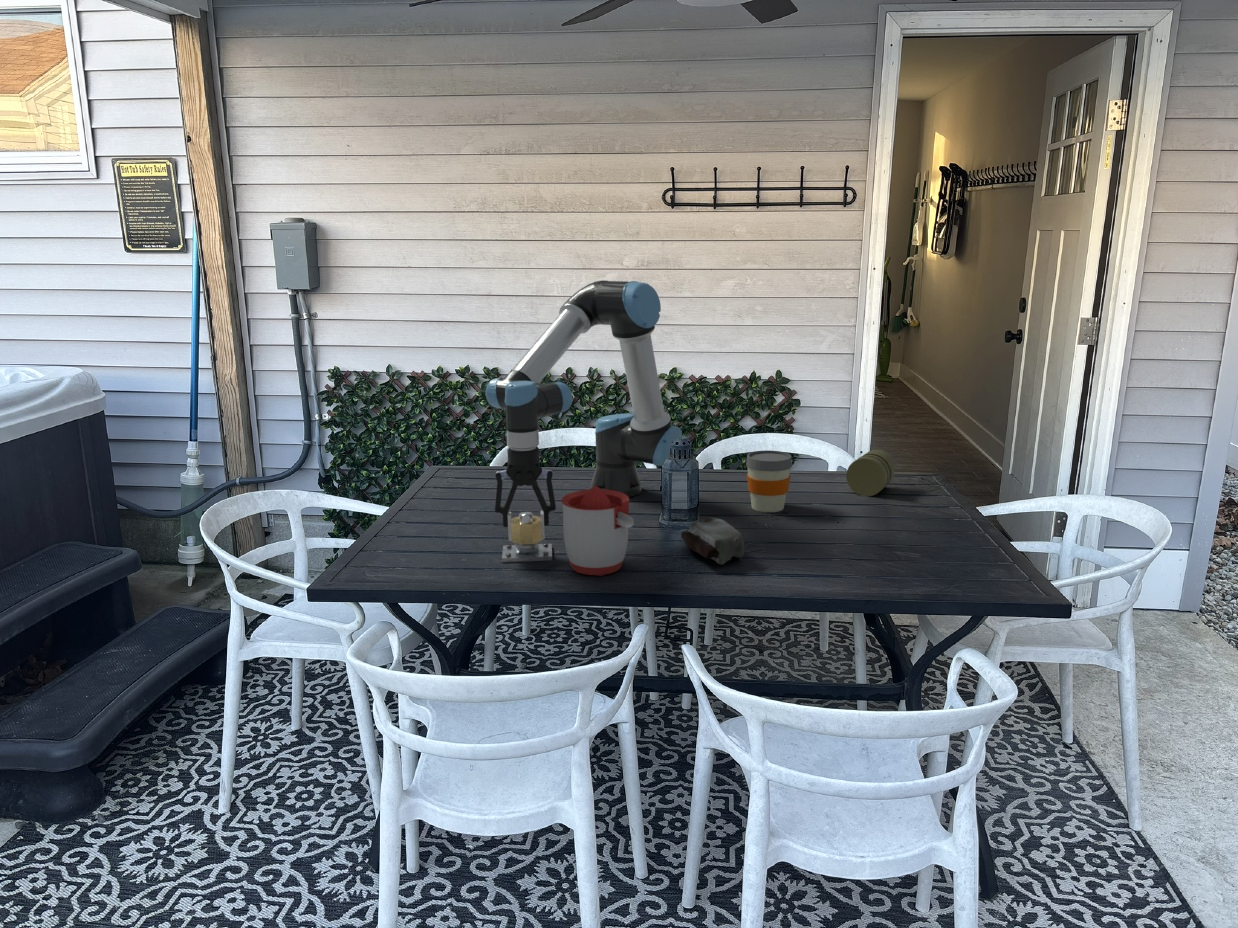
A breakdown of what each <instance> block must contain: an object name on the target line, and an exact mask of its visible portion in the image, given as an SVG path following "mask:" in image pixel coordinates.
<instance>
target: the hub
mask: <svg viewBox="0 0 1238 928" xmlns="http://www.w3.org/2000/svg"><path fill="white" fill-rule="evenodd" d="M532 515H533V522H531V523H520V522H519V515H518V516H515V517H511V536H512V541H511V543H514V544H515V543H516V544H520V545H525V544H535V543H537V542H538V543H539V542H543V541H542V536H541V516H537V515H534V514H532Z"/></svg>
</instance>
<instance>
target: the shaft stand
mask: <svg viewBox="0 0 1238 928" xmlns="http://www.w3.org/2000/svg"><path fill="white" fill-rule="evenodd" d="M533 515H534V514H533V512H531V511H522V512H520V513H519V514H518V516H519V522H520V523H531V522H533ZM552 546H553V544H552V543H547V542H544V543H539V542H537V543H535V544H525V545H520V544H516V543H514V544H513V545H512V544H506V545H502V556H501V563H518V562H523V563H524V562H541V561H542V562H543V561H547V562H548V561H553V549H552V548H553V547H552Z"/></svg>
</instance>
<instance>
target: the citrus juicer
mask: <svg viewBox="0 0 1238 928" xmlns="http://www.w3.org/2000/svg"><path fill="white" fill-rule="evenodd" d="M561 504H562V524H563V527H562V528H563V541H564V547H565V552H566V555H567V558H568V563H569V564H570V566H571V568H572V570H573V571H574V572H576V573H578V574H582V575H587V576H597V577H603V576H605V575H608V574H613V573H615V572H618V571H619V570H620V569H621V567H622V565H623V564H624V561H625V557H626V553H627V547H628V542H629V529H631V528H632V527H634V524H635V521H634V518H633V517H632V516H630V497H628V496H627V495H626V494H624V493H621V492H618V491H613V490H602V489H599V488H598V487H597V486H593V487H592V488H591V487H590V489H583V490H578V491H572V492H570V493H567V494H565V495H564V496H563V497H562V498H561Z"/></svg>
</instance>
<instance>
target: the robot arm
mask: <svg viewBox="0 0 1238 928" xmlns="http://www.w3.org/2000/svg"><path fill="white" fill-rule="evenodd" d="M661 306H662V305H661V300H660V297H659V294H658V293H657V290H656V289H655V288H654V287H653V286H652V285H650V284H649V283H646V282H641V281H640V282H639V281H635V280H631V281H623V280H622V281H621V280H620V281H619V280H597V281H594V282H591V283H588V284H587V285H585V286H582V288H580V289H578V290H577V291H576V292H574V294H573V295H571V296H570V297H569V298H568V299H567V300H566V301H564V303H563V304H562V305H561V307H560V308H559V311H558V316H557V317H555V319H554V320H553V322H552V323H551V324H550V325H549V326H548V327H547V329H545V331H544V332H543V333H542V334H541V335H540V336H539V337H538V339H537V340H536V341H535V342H534V343H533V345H531V346H530V348H529V349H528V350H527V351H526V352H525V354H523V356H522V357H521V358H520V359H519V361H517V363H516V364H515V365H514V366H513V368H512V369H510V371H509V373H508V374H506V375H505V377H504V378H503V377H496V378H493V379H490V381H489V382H488V383H487V386H486V389H485V397H486V398H485V399H486V400H487V403H488V404H489V406H491V407H493V408H497V409H501V410H504V411H505V422H506V446H507V447H508V448H507V450H506V451H507V453H506V454H507V467H506V469H504V470H500V469H499V470H496V471H495V479H496V483H497V484H496V494H495V495H496V496H495V503H494V504H495V506H494V507H495V508H494V511H495V513H499V514H501V515H502V526H503V527H504V528H507V530H508V531H507V534H508V542H512V536H511V518H512V512H511V511H510V507H511V505H512V503H513V499H514V496H515V494H516V491H517V489H518V487H521V486H528V487H530V486H531V488H532V489H533V491H534V494H535V496H536V498H537V500H538V503H539V504H540V507H541V509H542V510H540V517H541V536H542V540H543V541H544V540H545V539H546V538H545V537H546V536H545V527H546V526H549V524H550V519H549V517H550V516H549V514H550V512H552V511H556V509H557V506H556V500H555V494H554V488H553V481H552V479H553V475H554V473H553V469H552V468H549V469H546V468H542V466H541V464H540V460H541V459H540V448H539V447H538V446H539V444H540V439H539V438H540V437H539V436H540V435H539V430H540V429H539V420H540V419H542V418H547V417H550V416H554V415H559V414H561V413H564V412H566V411H568V410H569V409H570V407H571V406H572V404H573V394H572V390H571V388H570V387H569V386H568V385H567V384H566V383H564V382H561V381H558V382H554V381H553V382H550V383H541V382H542V380H543V379H544V378H545V377H546V376H547V374H548V373H550V370H552V369H553V368H554V366H555V365H556V364H557V363H558V361H559V360H560V359H561V358H562V357H563V356H564V354H565V353H566V352H567V351H568V350H569V348H570V347H571V346H572V345H573V344H574V342H575V341H576V340H577V339H578V338H579V337H580V335H581V334H586V333H587V332H589V330H590V329H591V328H592V327H593V326H598V325H607V326H608V325H609V326H610V330H611V333H612V334H611V335H612V337H613V338H615V339H616V340H618V341H619V345H620V350H621V356H622V360H623V366H624V370H625V371H624V372H625V375H626V380H627V382H626V383H627V386H628V393H629V397H630V402H631V409H632V413H616V414H610V415H605V416H602V417H599V418H598V419H597V420H596V421H595V422H596V423H595V431H594V434H595V455H596V456H595V460H596V463H595V464H596V465H595V470H594V474H593V476H592V479H591V483H590V489H591V488H592V487H593V486H597V487H598V488H599V489H602V490H613V491H618V492H621V493H624V494H626V495H627V496H628V498H631V497H633V496H637V495H639V494H640V493H642V482H641V478H640V475H639V473H638V470H637V467H636V462H637V463H642V464H643V463H644V464H649V465H653V466H663V465H664V462H665V460H666V459H668V457H669V454H670V447H671V443H672V442H673V441H674V440H675V439H678V438H682V439H683V432H682V430H681V429H680V428H679V427H678V426H676V425H672V424H673V423H672V419H671V415H670V414H669V413H668V412H666V411H664V410H665V409H664V402H663V399H662V393H661V386H660V381H659V377H658V376H659V375H658V369H657V364H656V358H655V352H654V345H653V341H652V336H651V335H652V333H654V331H655V328H656V325H657V324H658V322H659V319H660V317H661V314H660V313H661V309H662V308H661ZM541 474H542V477H543V478H544V479H545V481H546V486H547V493H548V499H549V504H547V501H546V499H545V497H544V494H543V492H542V491H541V488H540V486H539V483H538V478H539V477H540V475H541ZM506 476H508V477H509V479H510V480H511V481H512V482H511V486H510V488H509V492H508V493H507V494H508V495H507V496H506V499H505V503H504V505H503V506H502V496H503V495H502V494H503V482H504V480H506Z"/></svg>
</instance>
